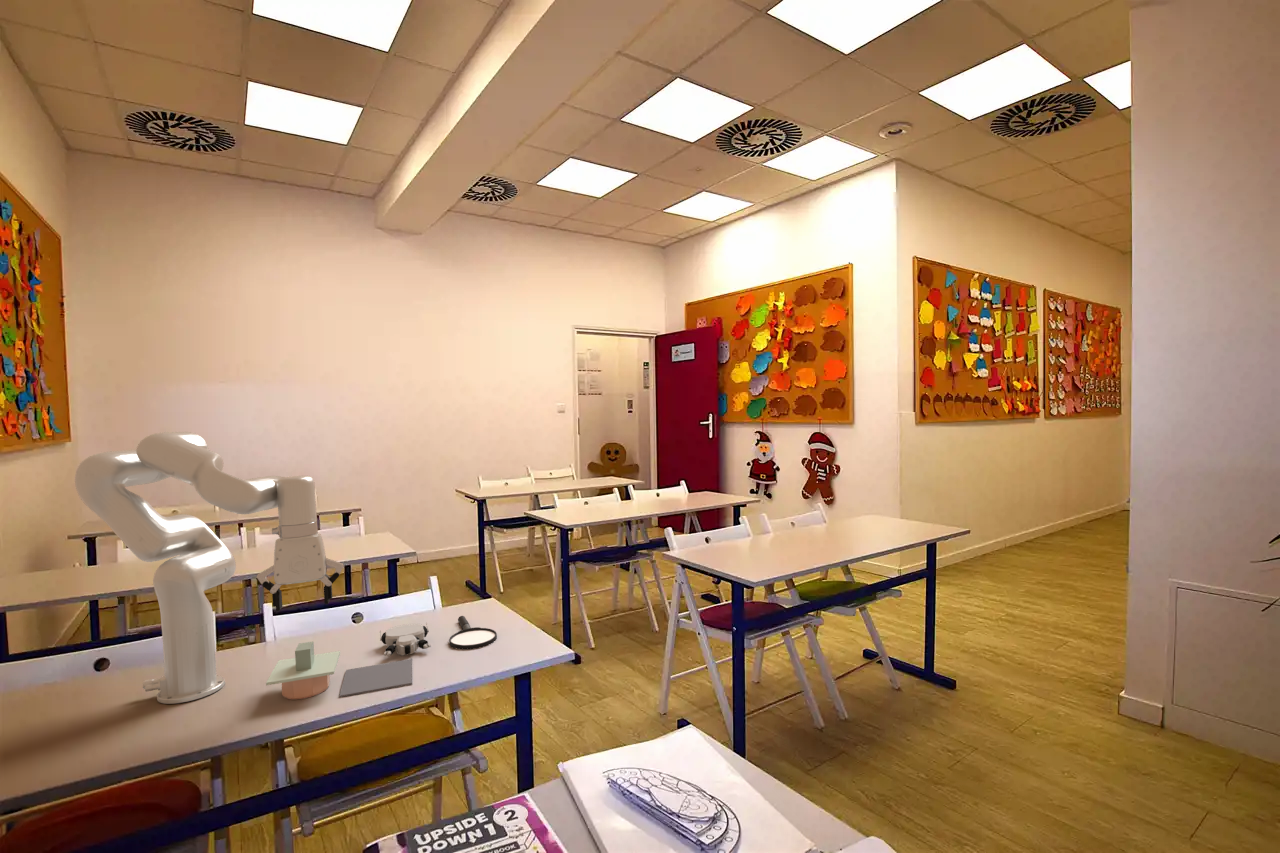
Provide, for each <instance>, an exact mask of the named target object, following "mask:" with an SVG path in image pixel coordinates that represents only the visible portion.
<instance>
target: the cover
mask: <svg viewBox="0 0 1280 853" xmlns="http://www.w3.org/2000/svg"><path fill="white" fill-rule="evenodd" d="M340 656H341V650H338V651H330V652H326V653H325V652H324V653H318V654H317V653H316V654H315V645H314V640H313V641H307V642H301V643H298V645H297V646H296V648H295V650H294V657H293V658H284V659H279V660H277V662H276V665H275V666H274V668H273V670H272V672H271V673H270V676H269V677H268V679H267V681H266V682H265V683H266V685H265V686H271V685H277V684H282V683H284V682H290V681H296V680H302V679H308V678H314V677H320V676H326V675H331V676H332V675H335V673H336V668H337V666H338V663H339V659H340Z"/></svg>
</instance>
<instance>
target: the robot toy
mask: <svg viewBox="0 0 1280 853" xmlns="http://www.w3.org/2000/svg"><path fill="white" fill-rule="evenodd" d="M425 624H426V626H425V625H423V624H422V623H407V624H401V625H397V626H393V627H389V628H388V629H385V632H383V633H382V630H379V636H380V637H379V641H381V642H382V643H383V645H386V648H385V651H384V652H383V656H384V657H385V656H387V657H388V656H392V655H393V654H395V652H396V653H397V655H399V656H406V655H407V654H408V655H412V654H414V653H415V652H416V651H417V650H418V648H420V649H422V650H424V649H428V648H431V643H429V641H428V640H426V639H425V638H426V637H427V635H428V633H430V632H429V626H428V622H425Z"/></svg>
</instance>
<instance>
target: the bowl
mask: <svg viewBox="0 0 1280 853" xmlns="http://www.w3.org/2000/svg"><path fill="white" fill-rule="evenodd" d="M330 677H331V676H330V675H326V676H320V677H314V678H308V679H302V680H296V681H290V682H284V683H281V696H282V697H284V698H285V699H287V700H303V699H308V698H311V697H315V696H317V695H319V694H322V693H324V692H326V690H328V688H329V686H330V682H331V681H330V680H331V679H330Z"/></svg>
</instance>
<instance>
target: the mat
mask: <svg viewBox="0 0 1280 853" xmlns="http://www.w3.org/2000/svg"><path fill="white" fill-rule="evenodd" d="M343 677H344V678H343V680H342V681H343V682H342V685H341V689H340V692H339V698H345V697H349V696H350V695H351V696H356V695H361V694H367V693H372V692H378V691H382V690H383V691H385V690H389V689H394V687H395V688H400V687H399V686H401V687H406V686H411V684H412V685H413V659H412V658H409V659H403V660H398V661H392V662H386V663H385V662H384V663H380V664H379V663H378V664H372V665H367V666H361V667H355V668H354V667H353V668H348V669H346V670H345V674H344V676H343ZM405 685H406V686H405ZM355 694H356V695H355ZM344 696H345V697H344Z"/></svg>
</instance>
